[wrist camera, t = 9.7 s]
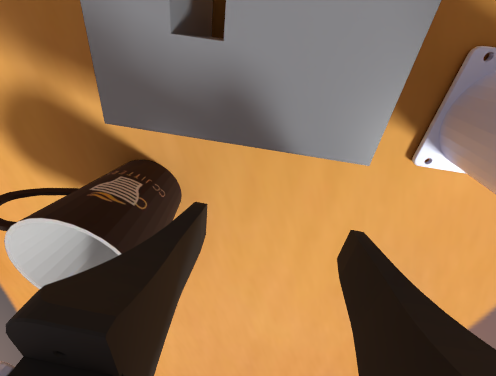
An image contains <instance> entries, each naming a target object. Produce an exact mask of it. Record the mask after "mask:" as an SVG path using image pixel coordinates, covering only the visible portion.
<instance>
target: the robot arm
mask: <svg viewBox="0 0 496 376" xmlns="http://www.w3.org/2000/svg"><path fill="white" fill-rule="evenodd" d="M488 52H489V57H488V58H487V59H486V60H485V61H484V60H483V58H484V56H485V55H486V54H487V53H488ZM428 158H430V159H429V161H427V162H425V160H426V159H428ZM412 161H413V163H414V164H415V165H417V166H422V167H429V168H435V169H441V170H448V171H454V172H460V173H466V174H468V175H469V176H471V177H472V178H474V179H475V180H477V181H478V182H479V183H481V184H482V185H484V186H485V187H486V188H488V189H489V190H491V191H492V192H493V193H495V194H496V48H495V47H488V46H477V47H475V48H473V49H472V50H471V51H470V52H469V53H468V55H467V57H466V59H465V61H464V63H463V64H462V66H461V68H460V70H459V72H458V74H457V76H456V77H455V79H454V81H453V83H452V85H451V87H450V89H449V91H448V92H447V94H446V96H445V98H444V100H443V102H442V104H441V106H440V107H439V109H438V111H437V113H436V115H435V117H434V119H433V121H432V122H431V124H430V126H429V128H428V130H427V132H426V134H425V136H424V137H423V139H422V141H421V143H420V145H419V147H418V149H417V151H416V152H415V154H414V156H413V159H412ZM206 221H207V204H204V203H199V202H195V203H193V204H192V205H191V206H190V207H189V208H187V209H186V210H185V211H184V212H183V213H182V214H180V215H179V216H178V217H177V218H176V219H174V220H173V221H172V222H170V223H169V224H168V225H167V226H165V227H164V228H163V229H161V230H160V231H158V232H157V233H156V234H154V235H153V236H151V237H150V238H148V239H147V240H145V241H144V242H142V243H140V244H139V245H137V246H135V247H134V248H132V249H130V250H128V251H126V252H124V253H122V254H120V255H118V256H116V257H114V258H113V259H111V260H108V261H106V262H104V263H102V264H100V265H97V266H95V267H93V268H90V269H88V270H85V271H83V272H80V273H78V274H75V275H72V276H70V277H67V278H64V279H61V280H58V281H56V282H53V283H50V284H47V285H44V286H43V287H42V288H41V289H40V290H39V291H38V292H37V293H36V294H35V295H33V296H32V298H31V299H30V300H29V301H28V302H27V303H26V304H25V305H24V306H23V307H22V308H21V309H20V310H19V311H18V312H17V313H16V314H15V315H14V316H13V317H12V318H11V319H10V320H9V321H8V323H7V324H6V333H7V335H8V337H9V338H10V340H11V341H12V342H13V344H14V345H15V346H16V347H17V349H18V350H19V351H20V352H21V353H22V355H23V356H24V357H23V358H22V359H21V360H20V362H19V363H18V364H17V365H16V367H14V366H12V365H10V364H8V363H5V362H2V361H0V376H154V374H155V370H156V367H157V364H158V361H159V357H160V354H161V351H162V348H163V345H164V342H165V339H166V336H167V333H168V330H169V327H170V324H171V321H172V318H173V315H174V312H175V309H176V306H177V303H178V301H179V298H180V296H181V293H182V291H183V289H184V286H185V284H186V282H187V280H188V278H189V275H190V273H191V271H192V269H193V267H194V265H195V262H196V260H197V258H198V256H199V254H200V251H201V248H202V245H203V242H204V239H205V235H206ZM337 262H338V272H339V279H340V283H341V287H342V291H343V295H344V299H345V303H346V307H347V311H348V315H349V318H350V322H351V327H352V332H353V337H354V344H355V350H356V357H357V365H358V373H359V376H496V350H495V349H494V348H492V347H491V346H490V345H488V344H486V343H485V342H484V341H482V340H481V339H479V338H478V337H477V336H475V335H474V334H473V333H471V332H470V331H469V330H467V329H466V328H465V327H463V326H462V325H461V324H459V323H458V322H457V321H456V320H454V319H453V318H452V317H450V316H449V315H448V314H447V313H445V312H444V311H443V310H442V309H440V308H439V307H438V306H437V305H436V304H435V303H433V302H432V301H431V300H430V299H429V298H428V297H427V296H425V295H424V294H423V293H422V292H421V291H420V290H419V289H418V288H417V287H416V286H415V285H413V284H412V283H411V282H410V281H409V280H408V279H407V278H406V277H405V276H404V275H403V274H402V273H401V272H400V271H399V270H398V269H397V268H396V267H395V266H394V264H393V263H392V262H391V261H390V260H389V259H388V258H387V257H386V256H385V255H384V254H383V253H382V252H381V250H380V249H379V248H378V247H377V246H376V245H375V244H374V243H373V242H372V241H371V240H370V238H369V237H368V236H367V235H366V234H365V233H364V232H360V231H354V230H351V231H350V233H349V235H348V237H347V239H346V241H345V243H344V245H343V247H342V249H341V251H340V253H339V256H338V258H337Z"/></svg>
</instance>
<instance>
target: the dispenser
mask: <svg viewBox="0 0 496 376" xmlns="http://www.w3.org/2000/svg"><path fill="white" fill-rule="evenodd" d="M80 2H81V7H82V12H83V17H84V22H85V27H86V32H87V37H88V42H89V47H90V52H91V57H92V61H93V66H94V71H95V76H96V81H97V86H98V91H99V96H100V101H101V106H102V111H103V116H104V121H105V123H106V124H112V125H118V126H124V127H131V128H137V129H143V130H149V131H156V132H162V133H168V134H174V135H180V136H187V137H193V138H199V139H205V140H212V141H218V142H224V143H230V144H236V145H243V146H249V147H255V148H261V149H268V150H274V151H280V152H286V153H292V154H299V155H305V156H311V157H317V158H324V159H330V160H336V161H342V162H348V163H355V164H361V165H367V166H369V165H370V163H371V160H372V158H373V156H374V154H375V151H376V149H377V147H378V144H379V142H380V140H381V137H382V135H383V133H384V131H385V128H386V126H387V124H388V121H389V119H390V117H391V115H392V112H393V110H394V108H395V105H396V103H397V101H398V98H399V96H400V94H401V92H402V89H403V87H404V85H405V82H406V80H407V78H408V76H409V73H410V71H411V69H412V66H413V64H414V62H415V60H416V57H417V55H418V53H419V50H420V48H421V46H422V43H423V41H424V39H425V37H426V34H427V32H428V30H429V27H430V25H431V23H432V21H433V18H434V16H435V14H436V11H437V9H438V7H439V5H440V2H441V0H226V9H225V27H224V38H217V37H212V15H213V0H80Z"/></svg>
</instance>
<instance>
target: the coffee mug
mask: <svg viewBox="0 0 496 376" xmlns="http://www.w3.org/2000/svg"><path fill="white" fill-rule="evenodd" d="M37 195H67V196H65V197H63V198H61V199H59V200H58V201H56V202H54V203H52V204H50V205H48V206H46V207H44V208H43V209H41V210H39V211H37V212H35V213H33V214H31V215H30V216H28V217H26V218H24V219H22V220H20V221H18V222H12V221H6V220H3V219H1V218H0V230H3V231H7V232H6V235H5V240H4V242H5V249H6V252H7V254H8V256H9V259H10V260H11V262H12V263H13V265H14V266H15V267H16V269H17V270H18V271H19V272H20V273H21V274H22V275H23V276H24V277H25V278H26V279H27V280H28V281H30V282H31V283H32V284H33V285H34V286H36V287H37V288H39V289H41V288H42V287H43V286H44V285H47V284H50V283H53V282H56V281H58V280H61V279H64V278H67V277H70V276H72V275H75V274H78V273H80V272H83V271H85V270H88V269H90V268H93V267H95V266H97V265H100V264H102V263H104V262H106V261H108V260H111V259H113V258H114V257H116V256H118V255H120V254H122V253H124V252H126V251H128V250H130V249H132V248H134V247H135V246H137V245H139V244H140V243H142V242H144V241H145V240H147V239H148V238H150V237H151V236H153V235H154V234H156V233H157V232H158V231H160V230H161V229H163V228H164V227H165V226H167V225H168V224H169V223H170V222H172V221H173V218H174V216H175V214H176V211H177V209H178V206H179V204H180V202H181V189H180V186H179V184H178V182H177V180H176V179H175V177H174V176H173V175H172V174H171V173H170V172H169V171H168V170H167V169H166V168H164V167H163V166H161V165H159V164H157V163H155V162H152V161H148V160H134V161H131V162H128V163H126V164H125V165H123V166H121V167H119V168H117V169H115V170H113V171H112V172H110V173H108V174H106V175H104V176H102V177H100V178H99V179H97V180H95V181H93V182H91V183H89V184H87V185H85V186H84V187H82V188H80V189H78V188H40V189H28V190H20V191H14V192H9V193H6V194H3V195H0V206H1V205H2V204H4V203H6V202H8V201H11V200H14V199H18V198H24V197H30V196H37Z"/></svg>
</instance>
